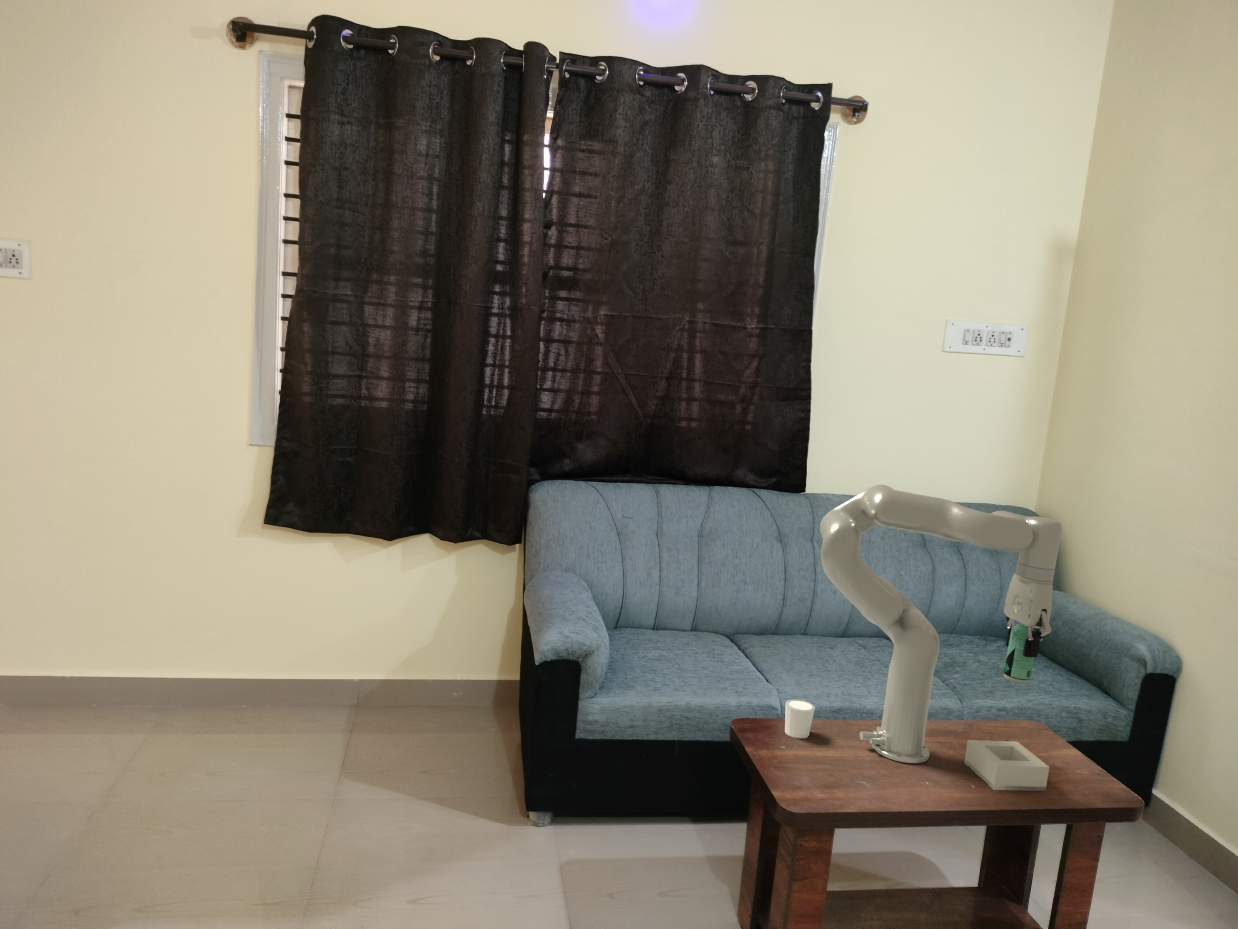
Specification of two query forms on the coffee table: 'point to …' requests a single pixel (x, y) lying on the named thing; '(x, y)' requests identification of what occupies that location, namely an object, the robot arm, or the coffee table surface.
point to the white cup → (798, 718)
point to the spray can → (1018, 655)
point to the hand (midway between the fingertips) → (1021, 650)
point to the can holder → (1006, 765)
